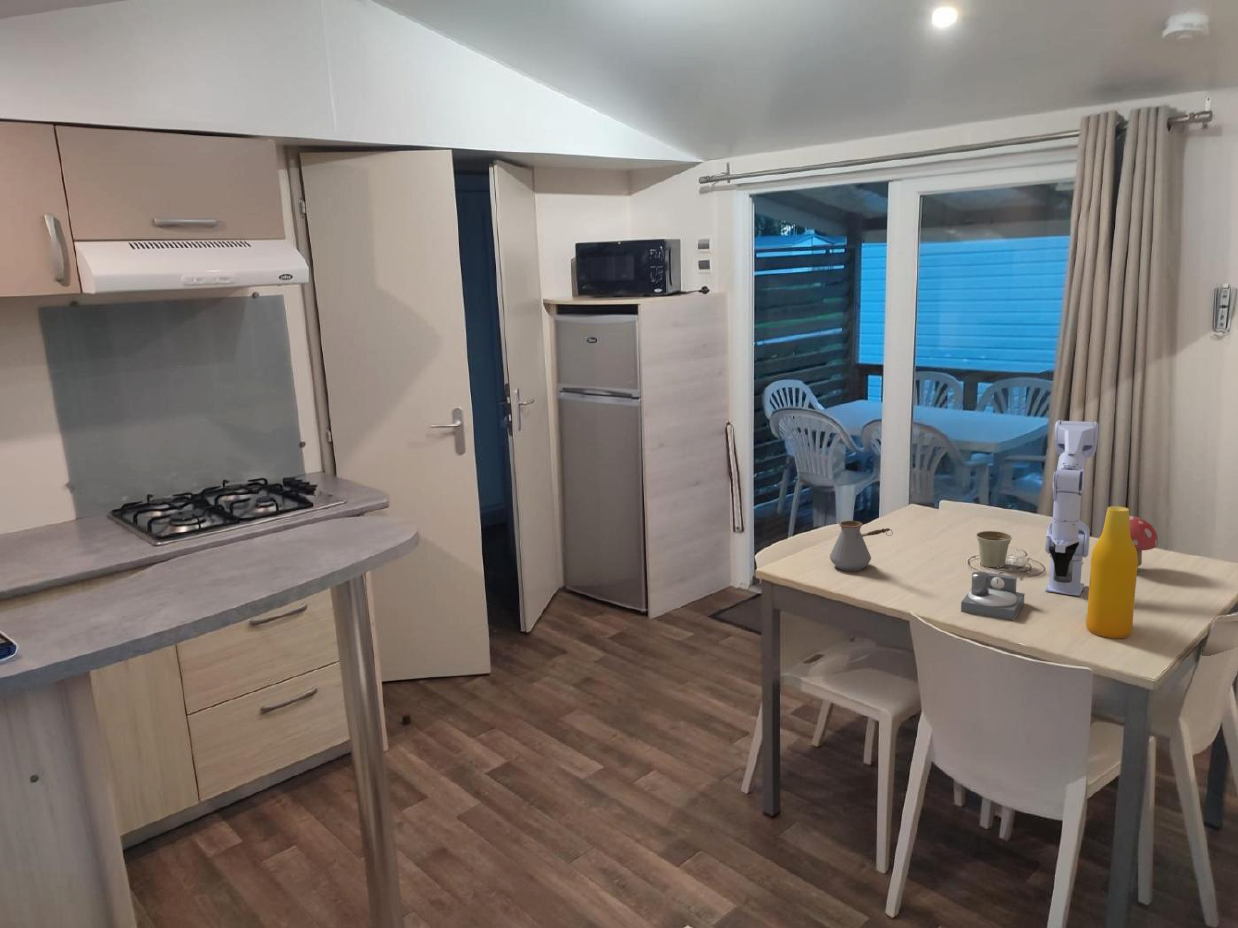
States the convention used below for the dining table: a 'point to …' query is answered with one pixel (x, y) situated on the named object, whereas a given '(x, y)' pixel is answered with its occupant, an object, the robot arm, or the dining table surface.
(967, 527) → the dining table surface
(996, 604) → the dial scale
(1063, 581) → the cylinder
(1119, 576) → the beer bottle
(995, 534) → the flower pot
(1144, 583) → the dining table surface
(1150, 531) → the decorative mushroom
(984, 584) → the ball
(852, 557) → the coffee pot
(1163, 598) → the dining table surface
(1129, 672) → the dining table surface
